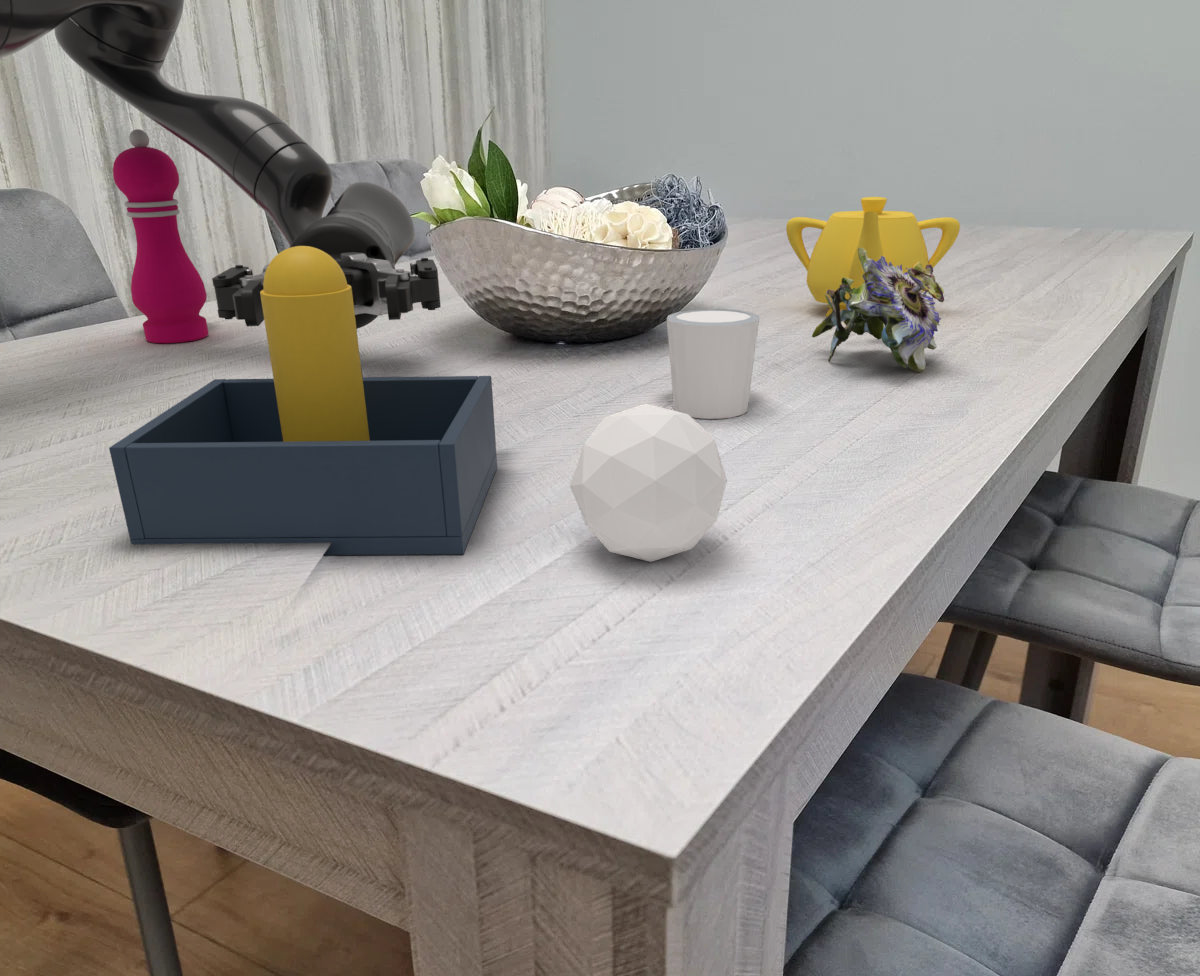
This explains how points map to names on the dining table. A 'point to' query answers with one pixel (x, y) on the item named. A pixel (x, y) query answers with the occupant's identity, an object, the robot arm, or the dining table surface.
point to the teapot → (865, 244)
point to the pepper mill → (159, 246)
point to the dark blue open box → (314, 470)
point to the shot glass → (712, 361)
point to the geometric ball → (649, 482)
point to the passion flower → (888, 309)
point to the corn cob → (313, 347)
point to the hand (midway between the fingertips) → (320, 305)
